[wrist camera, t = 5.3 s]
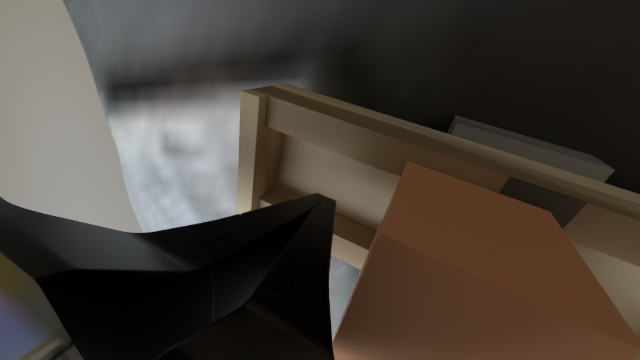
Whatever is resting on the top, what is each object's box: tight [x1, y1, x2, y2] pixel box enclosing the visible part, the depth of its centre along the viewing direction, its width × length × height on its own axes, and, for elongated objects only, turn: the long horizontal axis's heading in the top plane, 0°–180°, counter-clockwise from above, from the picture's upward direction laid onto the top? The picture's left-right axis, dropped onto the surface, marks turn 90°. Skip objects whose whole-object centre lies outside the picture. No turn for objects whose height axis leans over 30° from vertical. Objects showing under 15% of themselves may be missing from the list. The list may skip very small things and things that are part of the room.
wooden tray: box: [237, 84, 640, 360], centre depth 10 cm, size 7×20×5 cm, turn 78°
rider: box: [332, 161, 640, 360], centre depth 8 cm, size 5×4×6 cm
